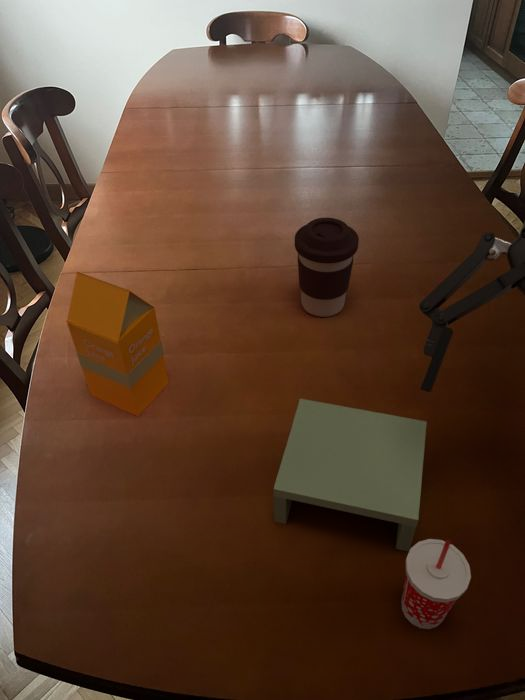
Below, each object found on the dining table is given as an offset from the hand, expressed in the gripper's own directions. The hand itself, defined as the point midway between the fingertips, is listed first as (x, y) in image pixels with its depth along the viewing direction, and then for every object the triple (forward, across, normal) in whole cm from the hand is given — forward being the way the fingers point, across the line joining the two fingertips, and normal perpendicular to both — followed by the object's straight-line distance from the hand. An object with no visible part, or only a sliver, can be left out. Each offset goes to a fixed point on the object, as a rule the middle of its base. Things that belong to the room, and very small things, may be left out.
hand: (494, 416), depth 56 cm
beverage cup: (+22, 0, -7) cm, 23 cm away
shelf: (+15, +13, -14) cm, 24 cm away
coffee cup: (-7, +32, -36) cm, 48 cm away
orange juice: (+15, +48, -14) cm, 52 cm away
